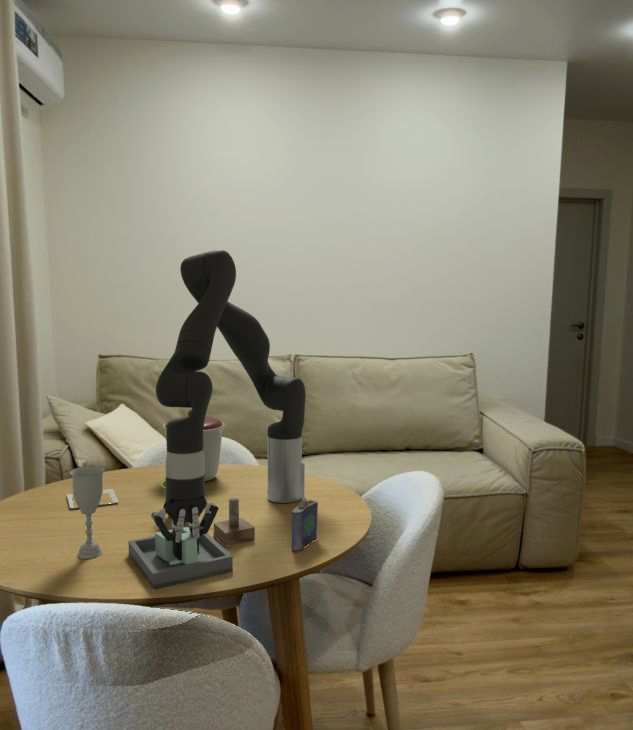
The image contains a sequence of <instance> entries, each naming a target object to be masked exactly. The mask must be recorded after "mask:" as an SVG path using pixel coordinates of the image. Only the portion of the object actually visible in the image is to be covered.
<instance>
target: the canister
mask: <svg viewBox="0 0 633 730" xmlns="http://www.w3.org/2000/svg"><path fill="white" fill-rule="evenodd" d="M191 412H192V408H190V409H189V410H188V412H187V416H179V417H175V418H172V419H169V420H168V421H166V423H164V424H162V430H163V429H164V431H165V435H166V429H167V424H168V423H169V422H170V421H172V420H175V419H179V418H185V417H188V416H190V414H191ZM225 425H226V424H225V422H223V421H222V420H220V419H219V418H216V417H215V416H214V417H213V416H208V415H207V416H205V421H204V428H203V453H204V461H205V481H206V482H209V481H211V480H213V479H214V478H215V477H216V475H218V470H219V465H220V459H221V447H222V437H223V429H224V427H226V426H225ZM165 442H166V443H167V437H166V436H165Z"/></svg>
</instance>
